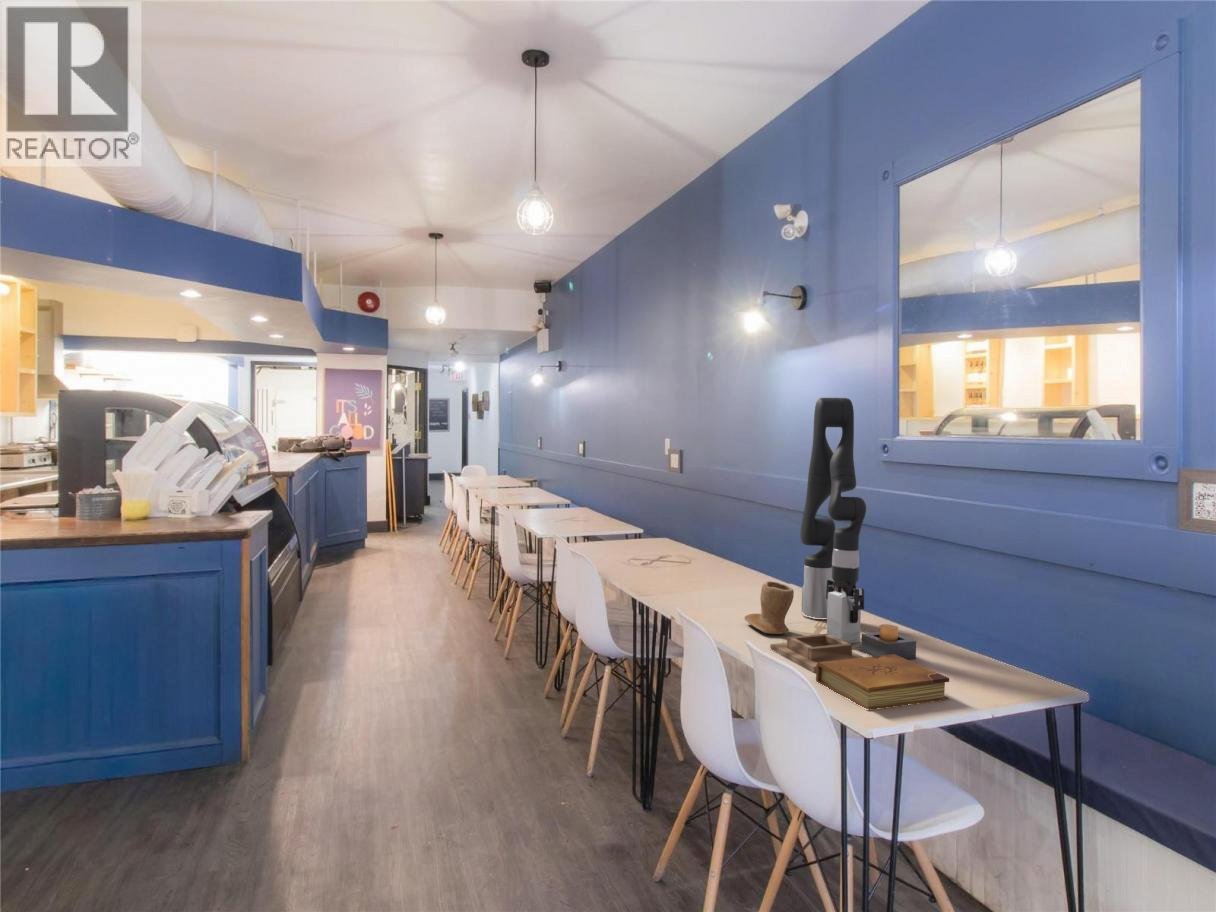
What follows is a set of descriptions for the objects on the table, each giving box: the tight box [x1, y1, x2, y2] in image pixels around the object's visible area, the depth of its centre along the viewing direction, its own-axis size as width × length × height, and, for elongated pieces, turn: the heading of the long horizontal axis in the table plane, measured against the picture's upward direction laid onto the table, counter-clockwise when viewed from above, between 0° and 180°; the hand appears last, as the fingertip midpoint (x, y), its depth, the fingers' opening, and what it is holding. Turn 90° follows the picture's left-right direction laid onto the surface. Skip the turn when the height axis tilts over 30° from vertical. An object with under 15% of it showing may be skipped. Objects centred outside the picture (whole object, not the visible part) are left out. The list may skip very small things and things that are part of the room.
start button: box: [878, 623, 899, 641], centre depth 193 cm, size 5×5×4 cm
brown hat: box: [743, 580, 795, 635], centre depth 216 cm, size 15×12×15 cm
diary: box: [815, 654, 950, 710], centre depth 166 cm, size 23×19×6 cm
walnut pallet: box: [769, 633, 864, 674], centre depth 190 cm, size 20×18×4 cm
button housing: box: [860, 631, 917, 661], centre depth 193 cm, size 10×10×5 cm
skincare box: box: [826, 592, 862, 645], centre depth 204 cm, size 8×6×15 cm
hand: (843, 619), depth 204 cm, fingers open, 8 cm apart
